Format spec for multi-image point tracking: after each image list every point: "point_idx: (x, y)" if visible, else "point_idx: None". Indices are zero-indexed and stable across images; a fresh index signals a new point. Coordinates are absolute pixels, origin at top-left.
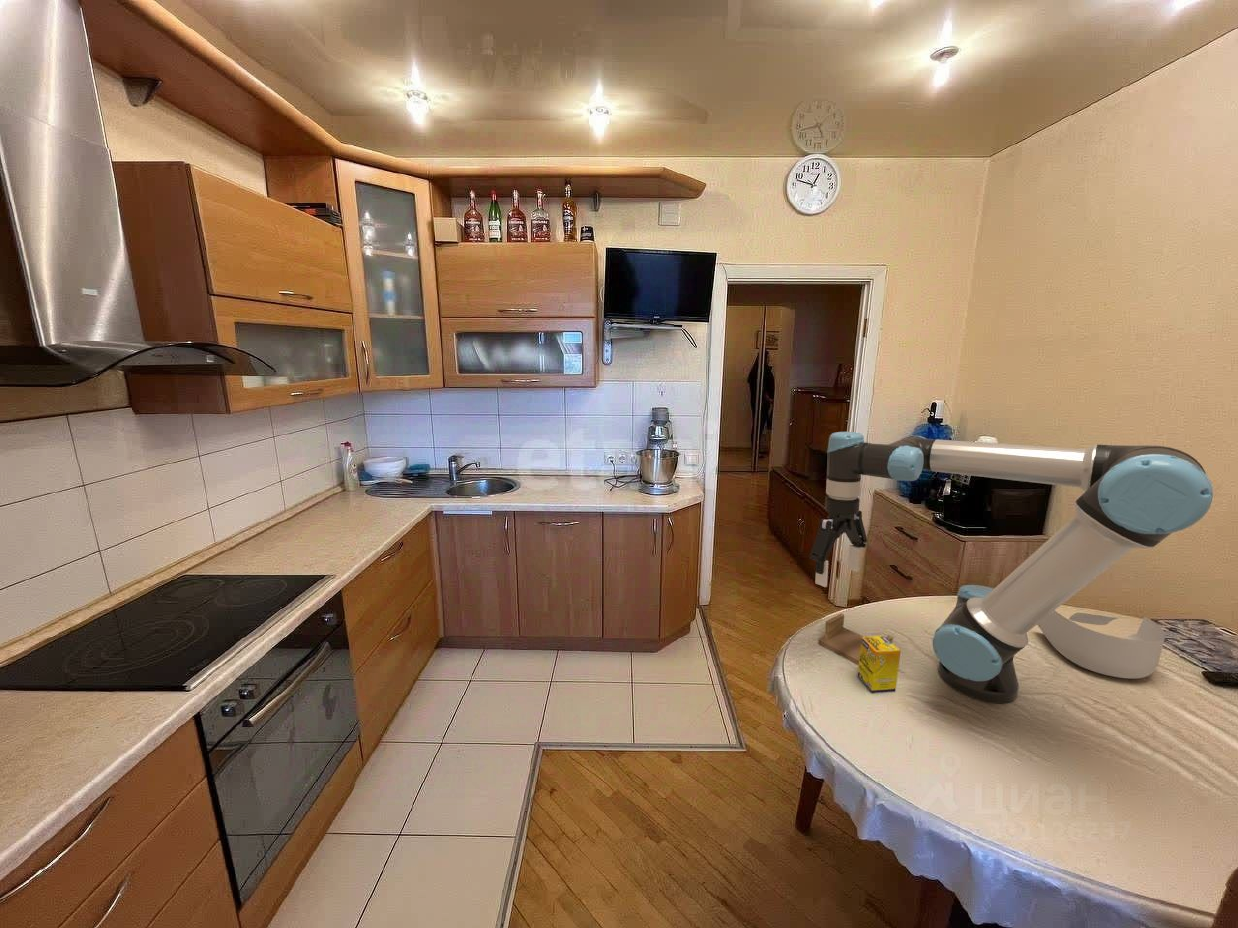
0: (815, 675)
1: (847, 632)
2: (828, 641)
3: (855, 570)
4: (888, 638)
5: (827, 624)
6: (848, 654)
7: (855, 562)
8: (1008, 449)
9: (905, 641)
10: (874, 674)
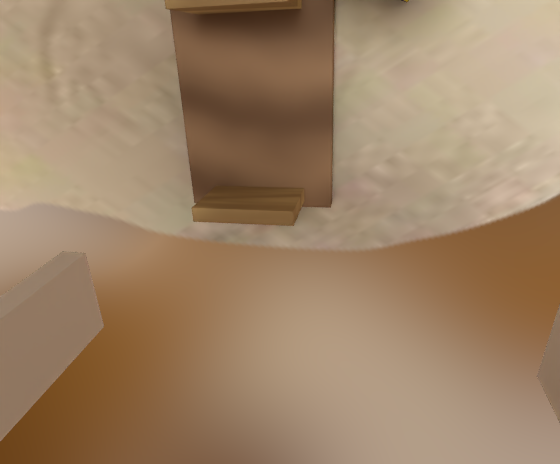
0: (518, 101)
1: (210, 171)
2: (312, 180)
3: (83, 276)
4: None
5: (294, 214)
6: (326, 93)
7: (33, 325)
8: None
9: (71, 30)
10: None
